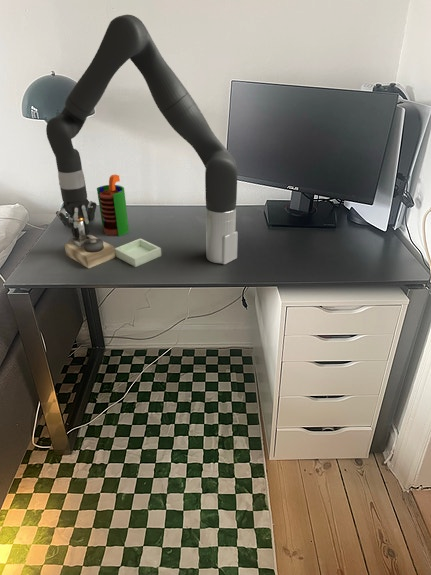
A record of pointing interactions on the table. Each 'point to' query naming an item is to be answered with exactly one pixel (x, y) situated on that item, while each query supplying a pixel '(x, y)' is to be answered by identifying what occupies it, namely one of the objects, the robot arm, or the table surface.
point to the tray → (137, 252)
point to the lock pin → (81, 229)
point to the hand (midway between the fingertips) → (81, 235)
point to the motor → (113, 208)
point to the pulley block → (89, 251)
